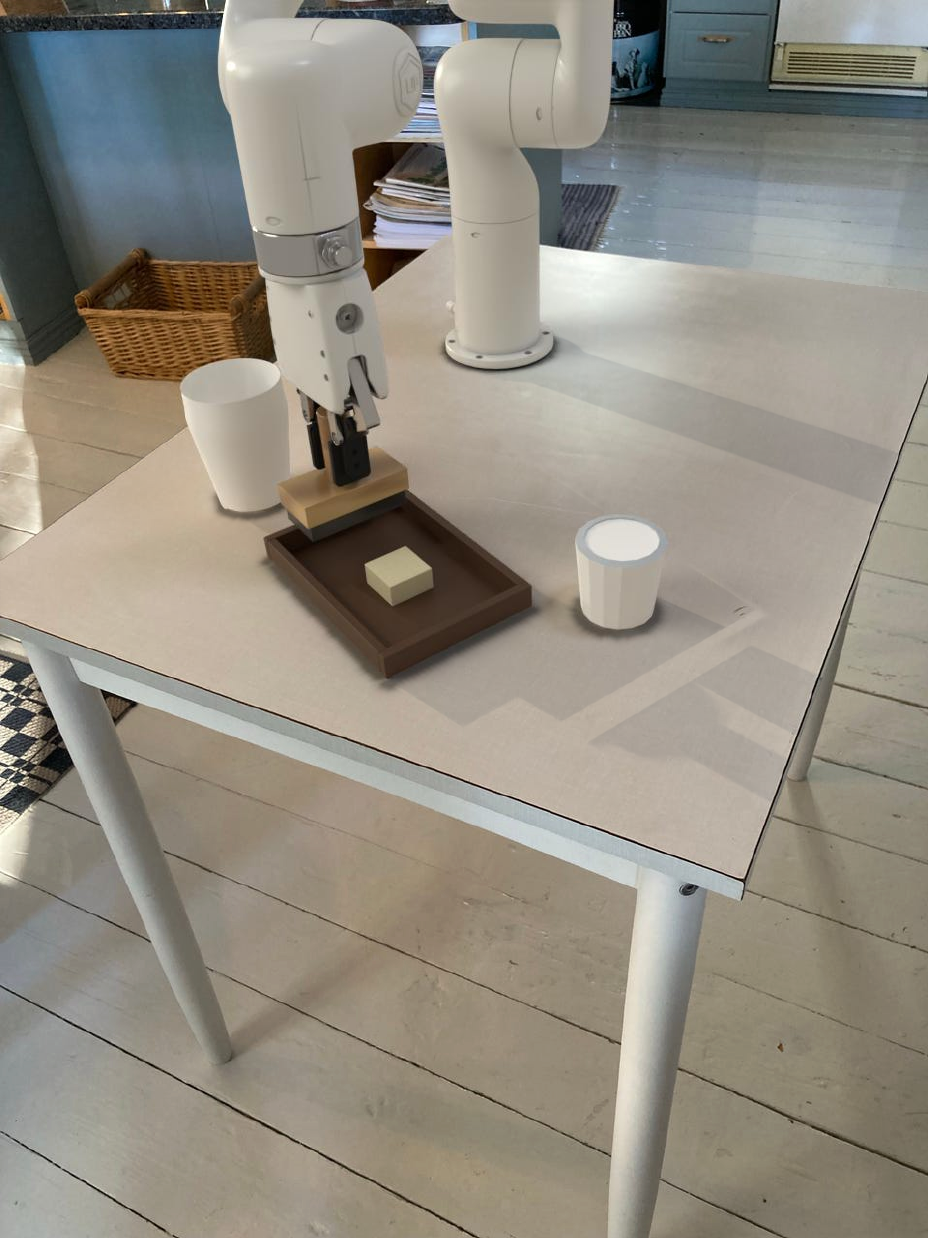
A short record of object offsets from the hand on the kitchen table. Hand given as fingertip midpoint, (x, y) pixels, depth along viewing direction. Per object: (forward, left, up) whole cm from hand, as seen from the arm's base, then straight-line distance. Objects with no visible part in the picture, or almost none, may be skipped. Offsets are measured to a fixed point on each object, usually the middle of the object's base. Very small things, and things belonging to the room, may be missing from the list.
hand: (342, 469), depth 81 cm
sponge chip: (+7, 0, -8) cm, 11 cm away
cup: (-14, -3, -8) cm, 16 cm away
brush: (0, 0, -4) cm, 4 cm away
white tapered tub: (+20, +12, -8) cm, 25 cm away
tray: (+6, 0, -8) cm, 10 cm away
